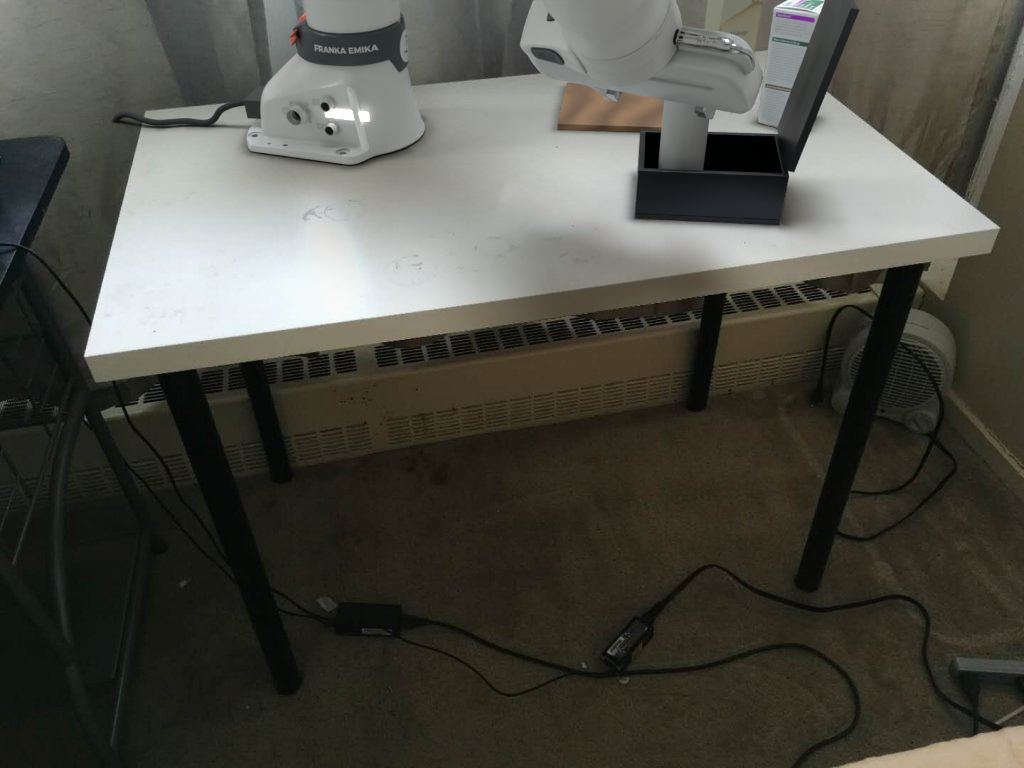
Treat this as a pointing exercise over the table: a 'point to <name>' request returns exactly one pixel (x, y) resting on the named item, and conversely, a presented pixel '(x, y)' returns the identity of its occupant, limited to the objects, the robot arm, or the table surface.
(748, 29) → the cosmetic box
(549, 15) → the robot arm
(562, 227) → the table surface
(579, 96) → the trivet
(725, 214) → the black open box
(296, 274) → the table surface
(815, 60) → the lid
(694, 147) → the beverage can
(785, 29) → the syrup box
